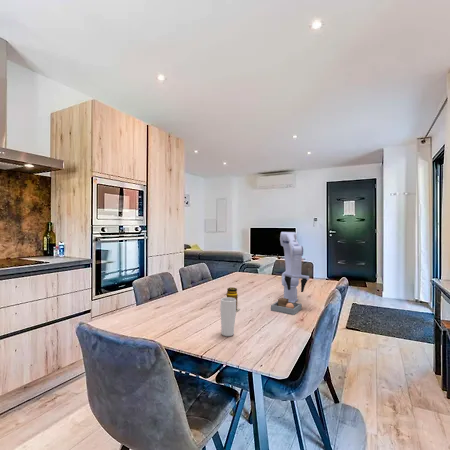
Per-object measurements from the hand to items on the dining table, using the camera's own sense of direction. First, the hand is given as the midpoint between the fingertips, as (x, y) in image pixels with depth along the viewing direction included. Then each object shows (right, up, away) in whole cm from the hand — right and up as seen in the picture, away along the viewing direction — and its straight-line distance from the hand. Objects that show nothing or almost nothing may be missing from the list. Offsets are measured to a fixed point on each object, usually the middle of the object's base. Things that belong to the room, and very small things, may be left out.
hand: (295, 290), depth 161 cm
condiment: (-37, -9, -6) cm, 39 cm away
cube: (-7, -9, 0) cm, 12 cm away
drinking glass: (-39, -9, -40) cm, 57 cm away
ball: (-5, -9, -7) cm, 13 cm away
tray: (-6, -10, -3) cm, 12 cm away
